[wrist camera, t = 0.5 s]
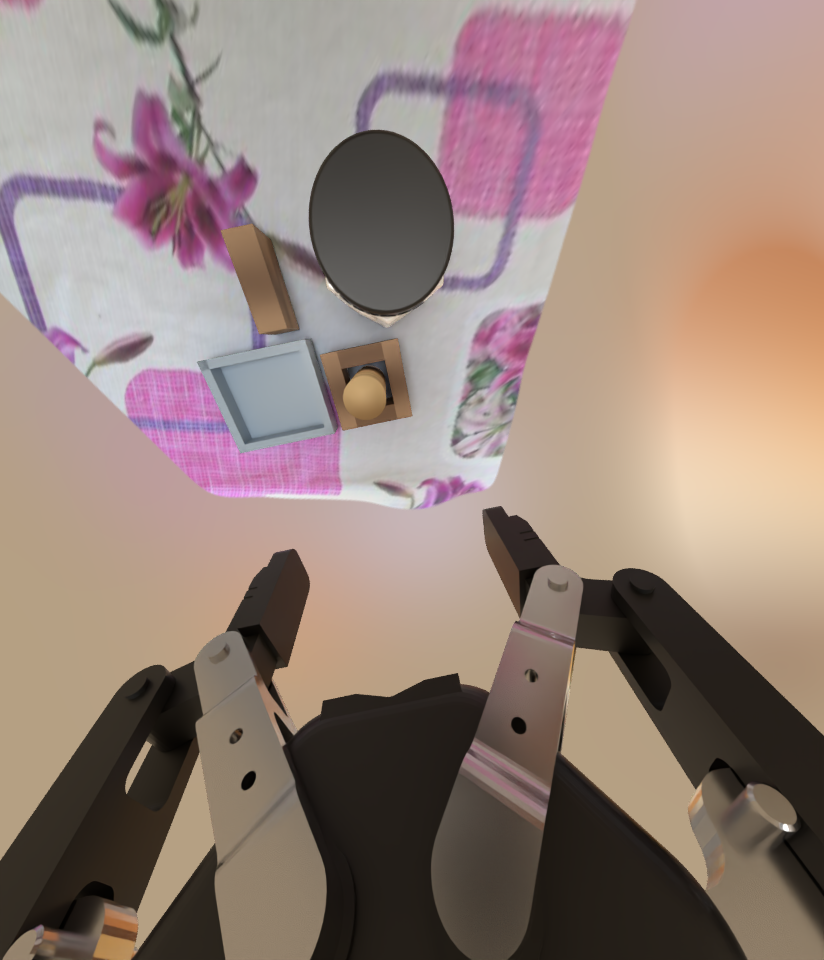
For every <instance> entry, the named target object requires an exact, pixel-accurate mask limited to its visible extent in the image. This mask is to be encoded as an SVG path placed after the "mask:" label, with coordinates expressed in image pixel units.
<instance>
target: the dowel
mask: <svg viewBox="0 0 824 960" xmlns="http://www.w3.org/2000/svg"><path fill="white" fill-rule="evenodd" d="M343 401H344V405H345V407H346V409H347V411H348V412H349V413H350V414H351V415H352V416H354V417H356V418H358V419H361V420H371V419H374V418H376V417H377V416H379V415H380V414H381V413H382V411H383V410H384V408H385V405H386V380H385V376H384V374H383V372H382V371H381V370H380V369H379V368H377V367H375V366H372V365H368V366H364V367H362V368H361V369H359V371H358V372H357V373H356V374H355V376H354V377H353V378H352V379H351V380H350V382H349V383H348V384H347V386H346V387H345V389H344V393H343Z"/></svg>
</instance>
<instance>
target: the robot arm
mask: <svg viewBox="0 0 824 960" xmlns="http://www.w3.org/2000/svg"><path fill="white" fill-rule="evenodd" d="M483 524H484V535H485V542H486V546H487V550H488V552H489V554H490V557H491V559H492V561H493V563H494V565H495V567H496V569H497V571H498V573H499V576H500V578H501V580H502V582H503V584H504V586H505V588H506V590H507V592H508V594H509V596H510V599H511V601H512V603H513V605H514V607H515V609H516V611H517V613H518V616H519V618H520V620H519V622H517V621H516V622H515V623H514V624H513V626H512V629H511V632H510V635H509V638H508V641H507V644H506V646H505V649H504V652H503V656H502V658H501V661H500V664H499V667H498V670H497V673H496V676H495V679H494V682H493V685H492V687H491V690H490V693H489V692H487V691H486V690H483V689H480V688H478V687H474V686H470V685H464V684H460V680H459V676H458V673H456V674H451V675H446V676H441V677H437V678H432V679H427V680H424V681H422V682H420V683H418V684H416V685H414V686H412V687H410V688H408V689H406V690H404V691H402V692H400V693H398V694H396V695H394V696H392V697H382V696H371V695H360V694H354V695H349V696H344V697H340V698H335V699H330V700H324V701H323V704H322V711H321V714H320V715H318V716H317V717H315V718H314V719H312V720H311V721H309V722H308V723H307V724H305V726H303V727H302V728H301V729H300V730H299V731H298V730H297V728H296V727H295V725H294V723H293V721H292V719H291V717H290V715H289V712H288V710H287V708H286V706H285V703H284V701H283V699H282V697H281V695H280V693H279V690H278V688H277V686H276V684H275V682H274V680H273V679H272V676H273V673H274V670H275V669H279V668H284V667H287V666H288V663H289V660H290V656H291V653H292V649H293V646H294V642H295V639H296V635H297V632H298V628H299V625H300V621H301V617H302V614H303V610H304V607H305V603H306V600H307V596H308V593H309V588H310V581H309V577H308V574H307V572H306V570H305V568H304V566H303V564H302V562H301V559H300V557H299V555H298V553H297V551H296V550H295V549H290V550H285V551H281V552H276V553H275V554H273V556H272V558H271V560H270V562H269V564H268V566H267V567H264V568H263V569H262V570H261V571H260V572H259V573H258V574H257V575H256V576H255V577H254V579H253V581H252V582H251V584H250V586H249V590H248V591H247V592H246V594H245V596H244V600H242V602H241V604H240V606H239V607H238V610H237V611H236V613H235V616H234V618H233V619H232V621H231V623H230V625H229V627H228V629H227V631H226V632H225V633H222V634H221V635H219V636H217V637H215V638H214V639H212V640H211V641H210V642H209V643H207V644H206V645H205V646H204V647H203V648H202V650H201V651H200V652H199V654H198V655H197V657H196V659H195V661H193V662H191V663H189V664H187V665H185V666H183V667H181V668H178V669H176V670H174V671H172V672H169V671H168V670H167V669H166V668H165V667H164V666H162V665H153V666H150V667H148V668H145V669H143V670H142V671H140V672H138V673H137V674H135V675H134V676H133V677H132V678H130V679H129V680H128V681H127V682H126V683H125V684H123V686H122V687H121V688H120V689H119V690H118V691H117V692H116V694H115V695H114V696H113V698H112V699H111V701H110V703H109V704H108V705H107V707H106V708H105V710H104V711H103V713H102V714H101V715H100V717H99V718H98V720H97V721H96V723H95V724H94V726H93V727H92V728H91V730H90V731H89V733H88V734H87V736H86V737H85V739H84V740H83V741H82V743H81V744H80V746H79V747H78V749H77V750H76V752H75V753H74V755H73V756H72V758H71V759H70V760H69V762H68V763H67V765H66V766H65V768H64V769H63V771H62V772H61V773H60V775H59V777H58V778H57V779H56V781H55V782H54V784H53V785H52V786H51V788H50V790H49V791H48V792H47V794H46V795H45V797H44V798H43V800H42V801H41V802H40V804H39V806H38V807H37V808H36V810H35V811H34V813H33V814H32V816H31V817H30V818H29V820H28V821H27V823H26V824H25V826H24V827H23V829H22V830H21V832H20V833H19V834H18V836H17V837H16V839H15V840H14V842H13V843H12V845H11V846H10V848H9V849H8V850H7V852H6V853H5V855H4V856H3V858H2V859H1V861H0V960H824V736H823V735H822V734H821V733H820V732H819V731H818V730H817V729H816V728H815V727H814V726H813V725H812V724H811V723H810V722H809V721H808V720H807V719H806V718H805V717H804V716H803V715H802V714H801V713H800V712H799V711H798V710H797V709H796V708H795V707H794V706H793V705H792V704H791V703H790V702H788V700H786V699H785V698H784V697H783V696H782V695H781V694H780V693H779V692H778V691H777V690H776V689H775V688H774V687H773V686H772V685H771V684H770V683H769V682H768V681H767V680H766V679H765V678H764V677H763V676H762V675H761V674H760V673H759V672H758V671H757V670H755V669H754V667H752V665H751V664H750V663H748V662H747V661H746V660H745V659H744V658H743V657H742V656H741V655H740V654H739V653H738V652H737V651H736V650H735V649H734V648H733V647H732V646H731V645H730V644H729V643H728V642H727V641H726V640H725V639H724V638H723V637H722V636H721V635H720V634H718V632H717V631H716V630H715V629H714V628H713V627H711V626H710V625H709V624H708V623H707V622H706V621H705V620H704V619H703V618H702V617H701V616H700V615H699V614H698V613H697V612H696V611H695V610H694V609H693V608H692V607H691V606H690V605H689V604H688V603H687V602H686V601H685V600H684V599H683V598H682V597H681V596H680V595H678V593H677V592H676V591H675V590H674V589H673V588H671V587H670V586H669V585H668V584H667V583H666V582H665V581H664V580H663V579H661V578H660V577H658V576H657V575H655V574H653V573H650V572H648V571H645V570H641V569H635V568H634V569H633V568H628V569H622V570H620V571H618V572H616V573H615V574H614V576H613V580H612V581H610V580H593V579H585V578H581V577H579V575H577V573H575V572H574V571H573V570H571V569H569V568H567V567H564V566H560V565H559V563H558V562H557V561H556V559H555V558H554V557H553V555H552V554H551V553H550V551H549V550H548V549H547V547H546V546H545V545H544V543H543V542H542V541H541V540H540V539H539V537H538V535H537V534H536V533H535V532H534V531H533V529H532V527H531V526H530V525H529V523H528V522H527V521H525V520H523V519H522V518H520V517H518V516H517V515H515V516H510V517H508V515H507V514H506V513H505V511H504V509H503V508H502V507H501V506H498V507H493V508H488V509H484V510H483ZM576 647H579V648H586V649H595V650H603V651H609V653H610V654H611V656H612V658H613V659H614V661H615V663H616V664H617V665H618V667H619V669H620V670H621V672H622V674H623V675H624V677H625V678H626V680H627V682H628V683H629V685H630V686H631V688H632V689H633V691H634V693H635V694H636V696H637V697H638V699H639V700H640V702H641V704H642V705H643V707H644V708H645V710H646V711H647V713H648V715H649V716H650V718H651V719H652V721H653V723H654V724H655V726H656V727H657V729H658V731H659V732H660V734H661V735H662V737H663V738H664V740H665V741H666V743H667V745H668V746H669V748H670V749H671V751H672V753H673V754H674V756H675V757H676V759H677V761H678V762H679V764H680V765H681V767H682V769H683V770H684V772H685V773H686V775H687V776H688V778H689V779H690V781H691V783H692V784H693V786H694V787H695V789H696V791H695V792H694V794H693V795H692V797H691V799H690V801H689V806H688V814H689V820H690V824H691V827H692V830H693V832H694V834H695V836H696V839H697V841H698V843H699V845H700V847H701V849H702V852H703V855H704V858H705V862H706V867H707V874H708V875H707V876H708V880H707V887H706V890H704V889H703V888H702V887H701V885H700V884H699V883H698V882H697V880H696V879H695V878H694V877H693V876H692V875H691V874H690V872H688V870H687V869H686V868H685V867H684V866H683V865H682V864H681V863H680V862H679V861H678V860H677V859H676V858H675V857H674V856H673V855H672V854H671V853H670V852H669V851H668V850H667V849H666V848H664V847H663V846H662V845H661V844H660V843H659V842H658V841H657V840H656V839H654V838H653V837H652V836H651V835H650V834H649V833H648V832H647V831H646V830H645V829H643V828H642V827H641V826H640V825H639V824H638V823H637V822H636V821H635V820H634V819H632V818H631V817H630V816H629V815H628V814H627V813H626V812H625V811H624V810H622V809H621V808H620V807H619V806H618V805H617V804H616V803H615V802H614V801H612V800H611V799H610V798H609V797H608V796H607V795H606V794H605V793H604V792H603V791H601V790H600V789H599V788H598V787H597V786H596V785H595V784H594V783H593V782H591V781H590V780H589V779H588V778H587V777H586V776H585V775H584V774H583V773H582V772H580V771H579V770H578V769H577V768H576V767H575V766H574V765H573V764H572V763H571V762H569V761H568V760H567V759H566V758H565V757H564V756H563V755H562V754H561V750H562V743H563V736H564V729H565V722H566V715H567V707H568V700H569V693H570V686H571V680H572V673H573V666H574V660H575V653H576ZM145 741H148V742H149V743H150V744H152V746H151V748H150V750H149V752H148V754H147V756H146V758H145V760H144V762H143V763H142V765H141V767H140V769H139V771H138V773H137V775H136V777H135V779H134V781H133V783H132V785H131V787H130V789H129V791H128V793H127V794H126V792H125V783H126V779H127V776H128V774H129V771H130V769H131V768H132V766H133V764H134V762H135V760H136V758H137V756H138V754H139V753H140V751H141V749H142V747H143V745H144V743H145ZM199 752H200V756H201V762H202V768H203V774H204V780H205V785H206V791H207V797H208V803H209V810H210V815H211V821H212V827H213V833H214V839H215V844H214V845H213V847H212V848H211V849H210V851H209V852H208V854H207V855H206V856H205V858H204V859H203V860H202V862H201V863H200V865H199V866H198V868H197V869H196V870H195V872H194V873H193V874H192V876H191V878H190V879H189V880H188V882H187V883H186V884H185V886H184V887H183V888H182V890H181V891H180V893H179V894H178V895H177V897H176V898H175V899H174V901H173V902H172V904H171V905H170V906H169V908H168V909H167V911H166V912H165V913H164V915H163V916H162V918H161V919H160V920H159V922H158V923H157V925H156V926H155V927H154V929H153V930H152V932H151V933H150V935H149V936H148V937H147V939H146V940H145V941H144V943H143V944H142V946H141V947H140V948H139V950H138V949H137V948H136V947H135V943H136V938H137V932H138V917H137V911H138V908H139V905H140V903H141V900H142V898H143V895H144V893H145V890H146V887H147V885H148V882H149V880H150V877H151V875H152V872H153V870H154V867H155V865H156V862H157V859H158V857H159V854H160V852H161V849H162V847H163V844H164V841H165V839H166V836H167V834H168V831H169V829H170V826H171V823H172V821H173V819H174V816H175V813H176V811H177V808H178V806H179V803H180V801H181V798H182V795H183V793H184V790H185V788H186V785H187V783H188V780H189V778H190V775H191V773H192V770H193V767H194V765H195V762H196V760H197V757H198V755H199Z"/></svg>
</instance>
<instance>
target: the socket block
mask: <svg viewBox="0 0 824 960" xmlns="http://www.w3.org/2000/svg"><path fill="white" fill-rule="evenodd" d="M320 357H321V360H322V364H323V367H324V370H325V374H326V377H327V380H328V384H329V387H330V390H331V394H332V397H333V400H334V404H335V407H336V410H337V413H338V417H339V420H340V423H341V427H342V430H343V431H344V430H348V429H353V428H358V427H363V426H368V425H372V424H377V423H382V422H387V421H391V420H396V419H401V418H406V417H411V416H412V412H411V406H410V401H409V396H408V390H407V385H406V380H405V375H404V369H403V364H402V359H401V353H400V348H399V343H398V339H392V340H387V341H382V342H377V343H373V344H368V345H363V346H358V347H353V348H349V349H344V350H339V351H334V352H330V353H325V354H321V355H320ZM383 360H385V363H386V368H387V373H388V377H389V382H390V387H391V391H392V396H393V397H390V398H386V405H385V408H384V410H383V411H382V413H381V414H380V415H379V416H377V417H376V418H374V419H371V420H361V419H358V418H356V417H354V416H352V415H351V414H350V413H349V412H348V411H347V409H346V407H345V405H344V401H343V393H344V389H345V387H346V386H347V384H348V383H349V382H350V377H349V373H348V369H347V368H349V367H354V366H359V365H364V364H369V363H373V362H378V361H383Z"/></svg>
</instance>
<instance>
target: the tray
mask: <svg viewBox="0 0 824 960" xmlns="http://www.w3.org/2000/svg"><path fill="white" fill-rule="evenodd" d="M197 363H198V365H199V367H200V369H201V372H202V374H203V376H204V378H205V380H206V382H207V384H208V386H209V388H210V390H211V392H212V395H213V397H214V399H215V401H216V403H217V405H218V407H219V409H220V411H221V413H222V415H223V418H224V420H225V422H226V424H227V426H228V428H229V430H230V432H231V434H232V436H233V439H234V441H235V443H236V445H237V447H238V449H239V451H240V453H244V452H249V451H253V450H258V449H263V448H268V447H273V446H277V445H282V444H287V443H292V442H297V441H301V440H306V439H311V438H316V437H321V436H325V435H330V434H335V432H336V430H337V428H338V425H337V422H336V419H335V416H334V412H333V409H332V406H331V403H330V399H329V396H328V393H327V390H326V386H325V383H324V380H323V377H322V373H321V370H320V367H319V364H318V360H317V357H316V354H315V351H314V347H313V344H312V341H311V339H303V340H298V341H293V342H289V343H284V344H279V345H274V346H270V347H265V348H260V349H255V350H251V351H246V352H241V353H236V354H232V355H227V356H222V357H217V358H213V359H208V360H203V361H198V362H197Z"/></svg>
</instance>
